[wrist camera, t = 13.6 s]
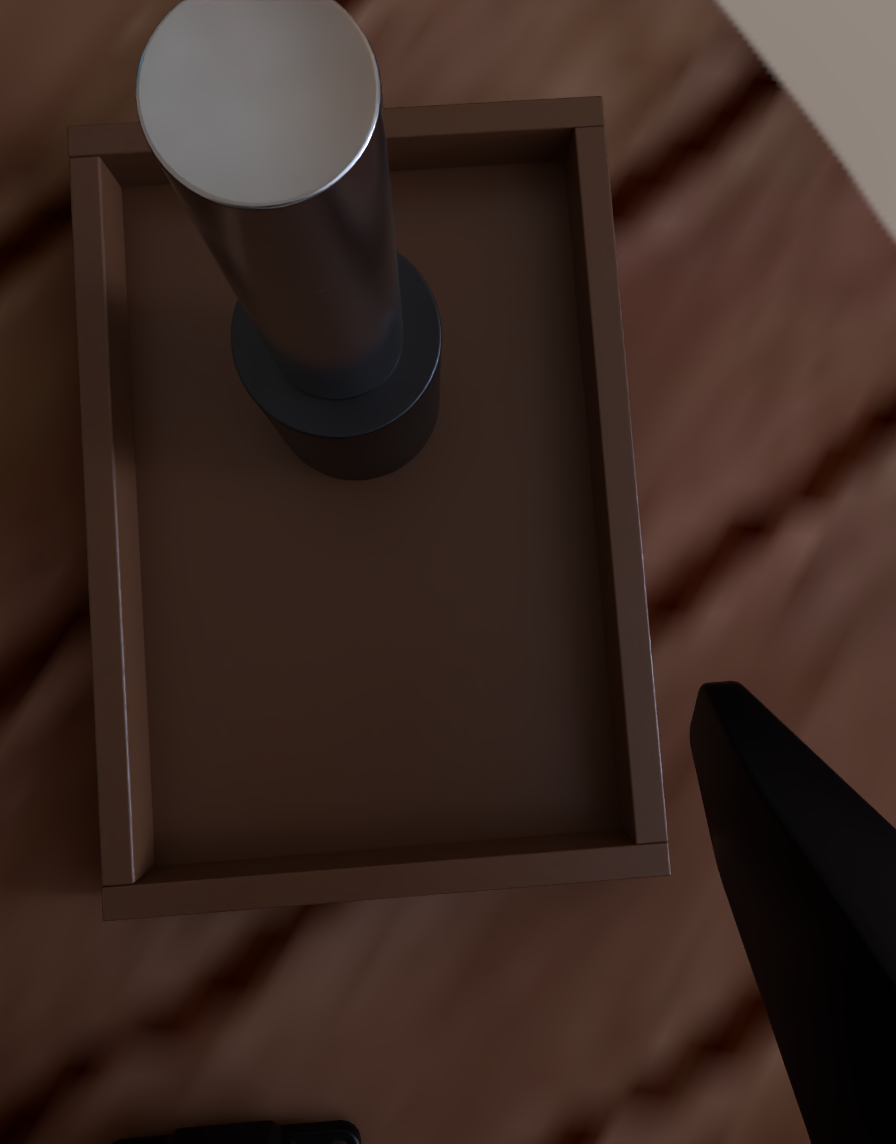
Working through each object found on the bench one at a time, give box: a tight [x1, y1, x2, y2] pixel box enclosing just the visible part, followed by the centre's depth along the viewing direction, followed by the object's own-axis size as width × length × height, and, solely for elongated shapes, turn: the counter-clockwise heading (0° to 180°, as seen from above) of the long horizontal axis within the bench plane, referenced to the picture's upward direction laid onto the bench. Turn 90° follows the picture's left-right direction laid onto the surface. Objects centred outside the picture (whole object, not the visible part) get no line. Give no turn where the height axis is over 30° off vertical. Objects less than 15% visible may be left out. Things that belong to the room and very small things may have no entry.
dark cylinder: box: [136, 0, 442, 480], centre depth 16 cm, size 4×4×13 cm
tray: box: [67, 96, 671, 921], centre depth 22 cm, size 20×14×2 cm
